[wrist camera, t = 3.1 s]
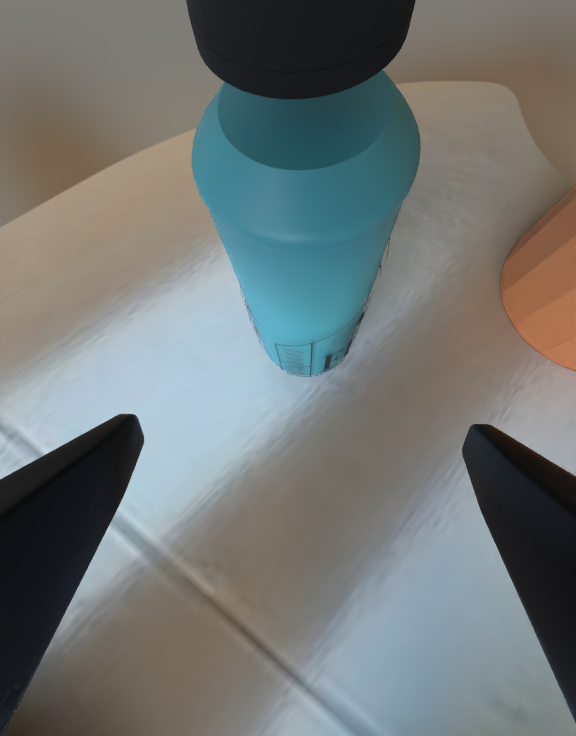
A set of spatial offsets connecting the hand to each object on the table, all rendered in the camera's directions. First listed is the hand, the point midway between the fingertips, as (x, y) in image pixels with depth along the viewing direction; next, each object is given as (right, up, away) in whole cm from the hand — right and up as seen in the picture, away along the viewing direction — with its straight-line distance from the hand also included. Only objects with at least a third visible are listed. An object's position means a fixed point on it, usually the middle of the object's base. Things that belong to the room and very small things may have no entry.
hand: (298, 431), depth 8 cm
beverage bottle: (+1, +4, +15) cm, 16 cm away
